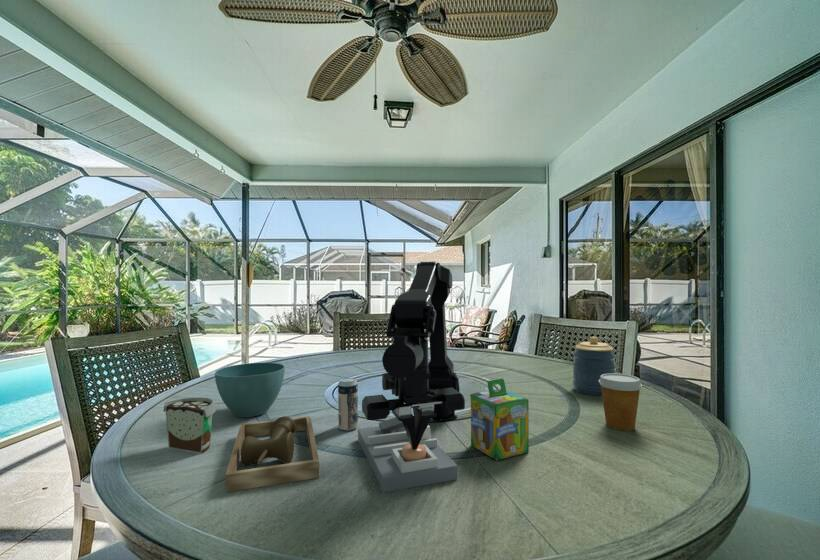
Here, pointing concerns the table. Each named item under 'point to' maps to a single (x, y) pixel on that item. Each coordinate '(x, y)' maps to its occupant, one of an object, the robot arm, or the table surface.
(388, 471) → the panel
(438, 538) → the table surface
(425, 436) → the slider knob
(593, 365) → the canister
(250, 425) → the tray
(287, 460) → the kendama
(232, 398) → the teal bowl
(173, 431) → the food container
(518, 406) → the chalk box
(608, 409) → the disposable coffee cup
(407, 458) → the push button
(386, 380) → the robot arm
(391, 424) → the rocker switch
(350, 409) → the beer can
